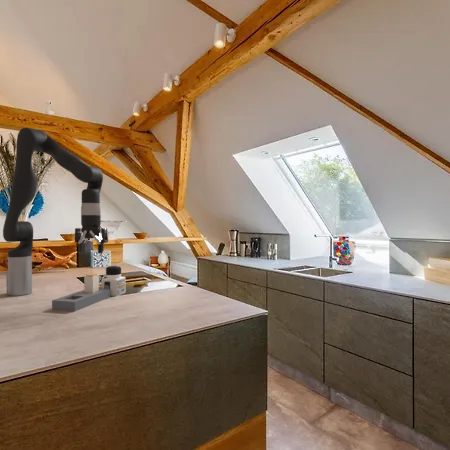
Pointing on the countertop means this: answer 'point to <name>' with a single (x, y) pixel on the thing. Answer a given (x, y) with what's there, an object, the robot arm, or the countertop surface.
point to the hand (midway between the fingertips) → (91, 252)
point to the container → (114, 281)
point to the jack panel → (79, 300)
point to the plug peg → (91, 283)
